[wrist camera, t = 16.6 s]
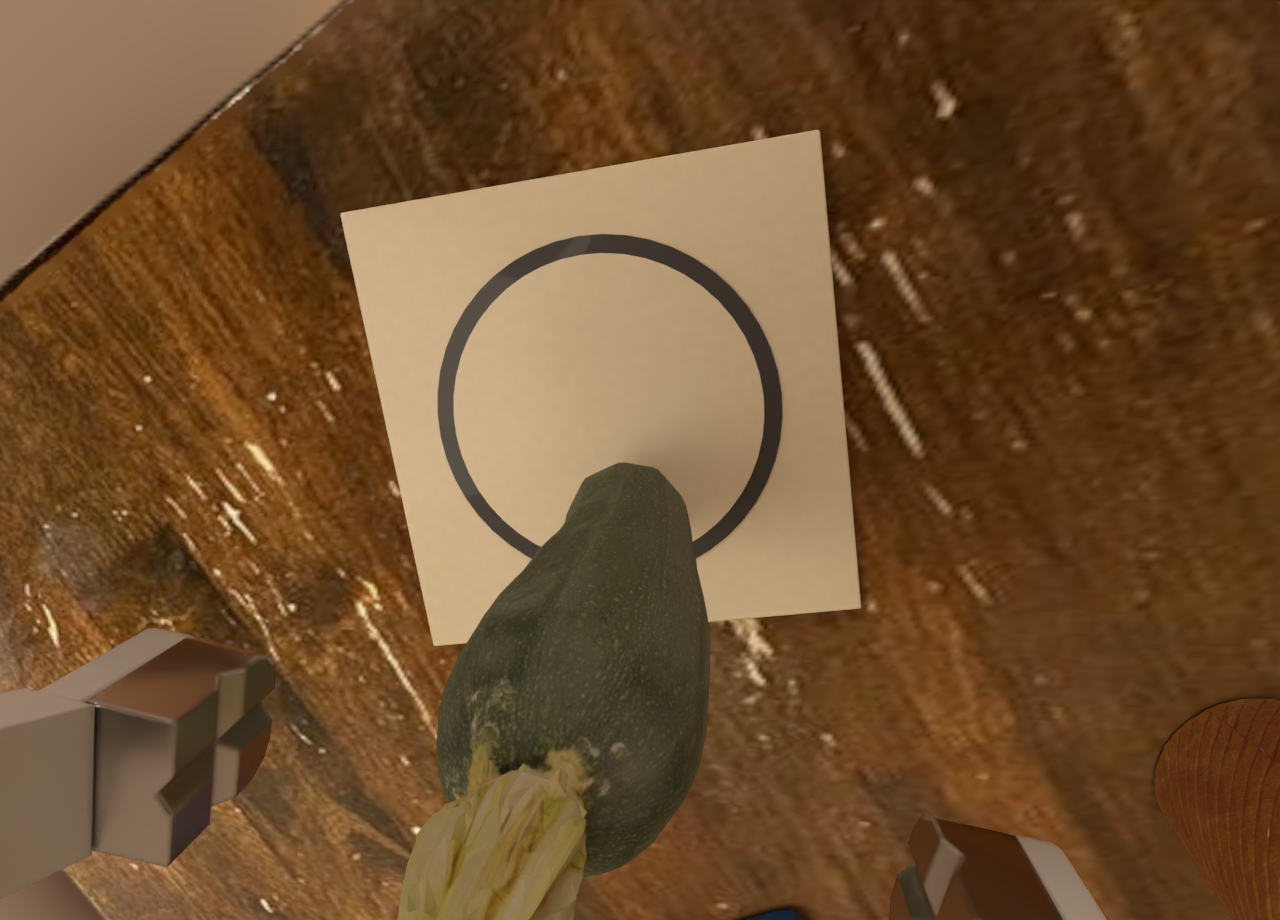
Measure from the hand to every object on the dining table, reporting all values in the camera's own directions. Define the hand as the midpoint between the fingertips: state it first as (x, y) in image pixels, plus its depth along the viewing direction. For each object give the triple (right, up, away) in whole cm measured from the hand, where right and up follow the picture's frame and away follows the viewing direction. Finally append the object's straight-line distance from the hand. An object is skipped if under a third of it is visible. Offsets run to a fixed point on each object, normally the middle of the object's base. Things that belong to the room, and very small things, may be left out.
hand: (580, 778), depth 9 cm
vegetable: (+1, +3, +16) cm, 17 cm away
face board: (0, +6, +17) cm, 17 cm away
